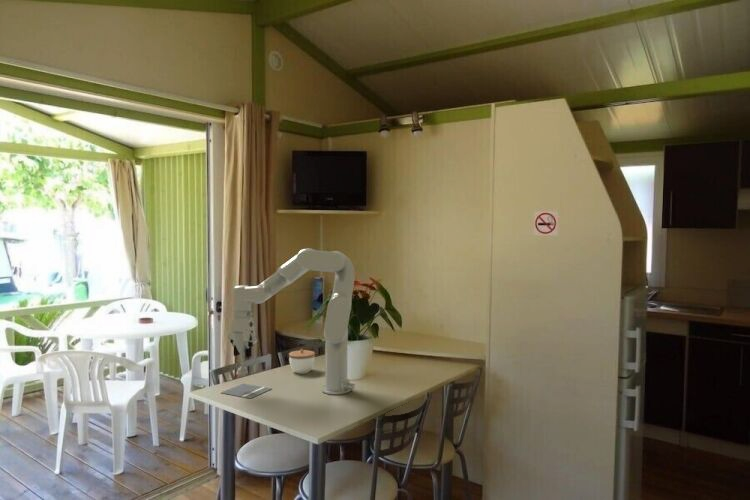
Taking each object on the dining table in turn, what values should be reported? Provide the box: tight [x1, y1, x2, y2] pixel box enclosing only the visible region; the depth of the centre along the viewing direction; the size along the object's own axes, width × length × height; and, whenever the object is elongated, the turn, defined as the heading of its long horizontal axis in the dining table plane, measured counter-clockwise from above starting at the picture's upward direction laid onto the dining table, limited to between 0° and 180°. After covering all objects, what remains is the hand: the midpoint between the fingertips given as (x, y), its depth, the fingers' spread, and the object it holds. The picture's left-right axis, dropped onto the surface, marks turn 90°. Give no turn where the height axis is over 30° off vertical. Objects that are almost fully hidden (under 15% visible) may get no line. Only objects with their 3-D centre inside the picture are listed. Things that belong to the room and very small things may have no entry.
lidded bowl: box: [288, 348, 316, 375], centre depth 246 cm, size 13×13×11 cm
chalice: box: [234, 333, 249, 376], centre depth 216 cm, size 7×7×18 cm
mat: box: [220, 383, 273, 400], centre depth 215 cm, size 16×14×1 cm
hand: (242, 355), depth 216 cm, fingers closed on chalice, 5 cm apart
